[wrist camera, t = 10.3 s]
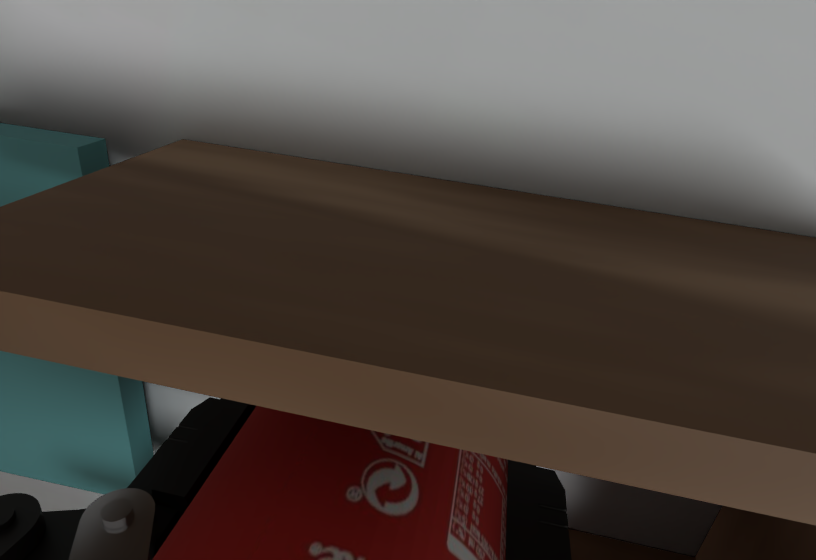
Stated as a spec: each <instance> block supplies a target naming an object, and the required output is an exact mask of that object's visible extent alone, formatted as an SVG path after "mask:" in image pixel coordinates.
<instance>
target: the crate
mask: <svg viewBox="0 0 816 560" xmlns="http://www.w3.org/2000/svg"><path fill="white" fill-rule="evenodd" d="M0 351H4V352H9V353H13V354H18V355H23V356H27V357H32V358H37V359H41V360H46V361H51V362H55V363H60V364H65V365H69V366H74V367H79V368H83V369H88V370H93V371H97V372H102V373H107V374H111V375H116V376H121V377H125V378H130V379H135V380H139V381H144V382H149V383H153V384H158V385H163V386H167V387H172V388H177V389H181V390H186V391H191V392H195V393H200V394H205V395H209V396H214V397H219V398H223V399H228V400H233V401H237V402H242V403H247V404H251V405H256V406H261V407H265V408H270V409H275V410H279V411H284V412H289V413H293V414H298V415H303V416H307V417H312V418H317V419H321V420H326V421H331V422H335V423H340V424H345V425H349V426H354V427H359V428H363V429H368V430H373V431H377V432H382V433H387V434H391V435H396V436H401V437H405V438H410V439H415V440H419V441H424V442H429V443H433V444H438V445H443V446H447V447H452V448H457V449H461V450H466V451H471V452H475V453H480V454H485V455H489V456H494V457H499V458H503V459H508V460H513V461H517V462H522V463H527V464H531V465H536V466H541V467H545V468H550V469H555V470H559V471H564V472H569V473H573V474H578V475H583V476H587V477H592V478H597V479H601V480H606V481H611V482H615V483H620V484H625V485H629V486H634V487H639V488H643V489H648V490H653V491H657V492H662V493H667V494H671V495H676V496H681V497H685V498H690V499H695V500H699V501H704V502H709V503H713V504H718V505H723V506H722V508H721V510H720V512H719V513H718V515H717V517H716V519H715V521H714V523H713V525H712V527H711V528H710V530H709V532H708V534H707V536H706V538H705V540H704V541H703V543H702V545H701V547H700V549H699V551H698V553H697V555H696V556H695V557H691V556H687V555H682V554H678V553H673V552H669V551H664V550H660V549H656V548H651V547H647V546H642V545H638V544H634V543H629V542H625V541H620V540H616V539H611V538H607V537H603V536H598V535H594V534H589V533H585V532H581V531H576V530H572V529H568V530H569V538H570V548H571V558H572V560H816V238H814V237H808V236H802V235H795V234H789V233H782V232H776V231H769V230H763V229H757V228H750V227H744V226H737V225H731V224H724V223H718V222H712V221H705V220H699V219H692V218H686V217H679V216H673V215H667V214H660V213H654V212H647V211H641V210H634V209H628V208H622V207H615V206H609V205H602V204H596V203H589V202H583V201H576V200H570V199H564V198H557V197H551V196H544V195H538V194H531V193H525V192H519V191H512V190H506V189H499V188H493V187H486V186H480V185H474V184H467V183H461V182H454V181H448V180H441V179H435V178H429V177H422V176H416V175H409V174H403V173H396V172H390V171H384V170H377V169H371V168H364V167H358V166H351V165H345V164H339V163H332V162H326V161H319V160H313V159H306V158H300V157H293V156H287V155H281V154H274V153H268V152H261V151H255V150H248V149H242V148H236V147H229V146H223V145H216V144H210V143H203V142H197V141H191V140H184V139H182V140H179V141H177V142H174V143H171V144H168V145H166V146H163V147H160V148H158V149H155V150H152V151H150V152H147V153H144V154H141V155H139V156H136V157H133V158H131V159H128V160H125V161H123V162H120V163H117V164H114V165H112V166H109V167H106V168H104V169H101V170H98V171H96V172H93V173H90V174H87V175H85V176H82V177H79V178H77V179H74V180H71V181H68V182H66V183H63V184H60V185H58V186H55V187H52V188H50V189H47V190H44V191H41V192H39V193H36V194H33V195H31V196H28V197H25V198H23V199H20V200H17V201H14V202H12V203H9V204H6V205H4V206H1V207H0Z"/></svg>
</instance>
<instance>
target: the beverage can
mask: <svg viewBox="0 0 816 560" xmlns="http://www.w3.org/2000/svg"><path fill="white" fill-rule="evenodd" d="M507 480H508V459H503V458H499V457H494V456H489V455H485V454H480V453H475V452H471V451H466V450H461V449H457V448H452V447H447V446H443V445H438V444H433V443H429V442H424V441H419V440H415V439H410V438H405V437H401V436H396V435H391V434H387V433H382V432H377V431H373V430H368V429H363V428H359V427H354V426H349V425H345V424H340V423H335V422H331V421H326V420H321V419H317V418H312V417H307V416H303V415H298V414H293V413H289V412H284V411H279V410H275V409H270V408H265V407H261V406H256V407H255V409H254V410H253V412H252V413H251V415H250V416H249V418H248V419H247V421H246V422H245V423H244V425H243V426H242V428H241V429H240V431H239V432H238V434H237V435H236V437H235V438H234V440H233V441H232V443H231V444H230V446H229V447H228V449H227V450H226V451H225V453H224V454H223V456H222V457H221V459H220V460H219V462H218V463H217V465H216V466H215V468H214V469H213V471H212V472H211V474H210V475H209V477H208V478H207V479H206V481H205V482H204V484H203V485H202V487H201V488H200V490H199V491H198V493H197V494H196V496H195V497H194V499H193V500H192V502H191V503H190V505H189V506H188V507H187V509H186V510H185V512H184V513H183V515H182V516H181V518H180V519H179V521H178V522H177V524H176V525H175V527H174V528H173V530H172V531H171V533H170V534H169V535H168V537H167V538H166V540H165V541H164V543H163V544H162V546H161V547H160V549H159V550H158V552H157V553H156V555H155V556H154V558H153V559H152V560H505V556H506V518H507Z"/></svg>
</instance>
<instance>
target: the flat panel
mask: <svg viewBox="0 0 816 560" xmlns="http://www.w3.org/2000/svg"><path fill="white" fill-rule="evenodd" d="M106 167H109V160H108V154H107V147H106V141H105V139H103V138H97V137H90V136H83V135H77V134H70V133H64V132H57V131H51V130H44V129H37V128H31V127H24V126H18V125H11V124H4V123H0V207H1V206H4V205H6V204H9V203H12V202H14V201H17V200H20V199H23V198H25V197H28V196H31V195H33V194H36V193H39V192H41V191H44V190H47V189H50V188H52V187H55V186H58V185H60V184H63V183H66V182H68V181H71V180H74V179H77V178H79V177H82V176H85V175H87V174H90V173H93V172H96V171H98V170H101V169H104V168H106ZM153 456H154V455H153V448H152V442H151V435H150V429H149V422H148V416H147V409H146V403H145V396H144V389H143V383H142V381H139V380H135V379H130V378H125V377H121V376H116V375H111V374H107V373H102V372H97V371H93V370H88V369H83V368H79V367H74V366H69V365H65V364H60V363H55V362H51V361H46V360H41V359H37V358H32V357H27V356H23V355H18V354H13V353H9V352H4V351H0V471H2V472H7V473H11V474H16V475H20V476H24V477H29V478H33V479H38V480H42V481H47V482H51V483H56V484H60V485H65V486H69V487H74V488H78V489H83V490H87V491H91V492H96V493H100V494H107V493H109V492H112V491H115V490H119V489H124V488H127V487H128V486H129V485H130V484H131V482H132V481H133V480H134V479H135V478H136V476H137V475H138V474H139V473H140V471H141V470H142V469H143V468H144V467H145V465H146V464H147V463H148V462H149V460H150V459H151V458H152V457H153Z"/></svg>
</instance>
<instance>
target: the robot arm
mask: <svg viewBox="0 0 816 560" xmlns="http://www.w3.org/2000/svg"><path fill="white" fill-rule="evenodd" d="M255 407H256V405H251V404H247V403H242V402H237V401H233V400H228V399H223V398H221V399H215V398H209V399H207V400H205V401H204V402H202V403H201V404H199V405H197V406H196V407H194V408H193V409H191V411H190V412H189V413H188V414H187V415H186V417H185V418H184V419H183V420H182V421H181V423H180V424H179V427H177V428H176V429H175V430H174V431H173V432H172V434H171V435H170V436H169V439H168V440H166V441H165V442H164V443H163V445H162V446H161V447H160V448H159V449H158V451H157V452H156V453H155V454H154V456H153V457H152V458H151V459H150V460H149V462H148V463H147V464H146V465H145V467H144V468H143V469H142V470H141V471H140V473H139V474H138V475H137V476H136V478H135V479H134V480H133V481H132V482H131V484H130V485H129V486H128V487H127V488H124V489H119V490H115V491H112V492H109V493H107V494H105V495H103V496H101V497H99V498H98V499H97V500H95V501H94V502H93V503H92V504H91V505H89V506H88V508H87V509H80V510H66V511H50V512H42V510H41V507H40V504H39V502H38V500H37V499H36V498H34V497H33V496H31V495H27V494H22V493H13V494H6V495H2V496H0V560H152V559H153V558H154V556H155V555H156V553H157V552H158V550H159V549H160V547H161V546H162V544H163V543H164V541H165V540H166V538H167V537H168V535H169V534H170V533H171V531H172V530H173V528H174V527H175V525H176V524H177V522H178V521H179V519H180V518H181V516H182V515H183V513H184V512H185V510H186V509H187V507H188V506H189V505H190V503H191V502H192V500H193V499H194V497H195V496H196V494H197V493H198V491H199V490H200V488H201V487H202V485H203V484H204V482H205V481H206V479H207V478H208V477H209V475H210V474H211V472H212V471H213V469H214V468H215V466H216V465H217V463H218V462H219V460H220V459H221V457H222V456H223V454H224V453H225V451H226V450H227V449H228V447H229V446H230V444H231V443H232V441H233V440H234V438H235V437H236V435H237V434H238V432H239V431H240V429H241V428H242V426H243V425H244V423H245V422H246V421H247V419H248V418H249V416H250V415H251V413H252V412H253V410H254V409H255ZM566 511H567V507H566V496H565V489H564V487H563V486H562V484H561V482H560V480H559V478H558V477H557V475H556V473H555V471H553V470H549V469H544V468H539V467H536V465H531V464H527V463H522V462H517V461H513V460H508V480H507V518H506V556H505V560H572V558H571V548H570V538H569V530H568V517H567V514H566Z"/></svg>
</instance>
